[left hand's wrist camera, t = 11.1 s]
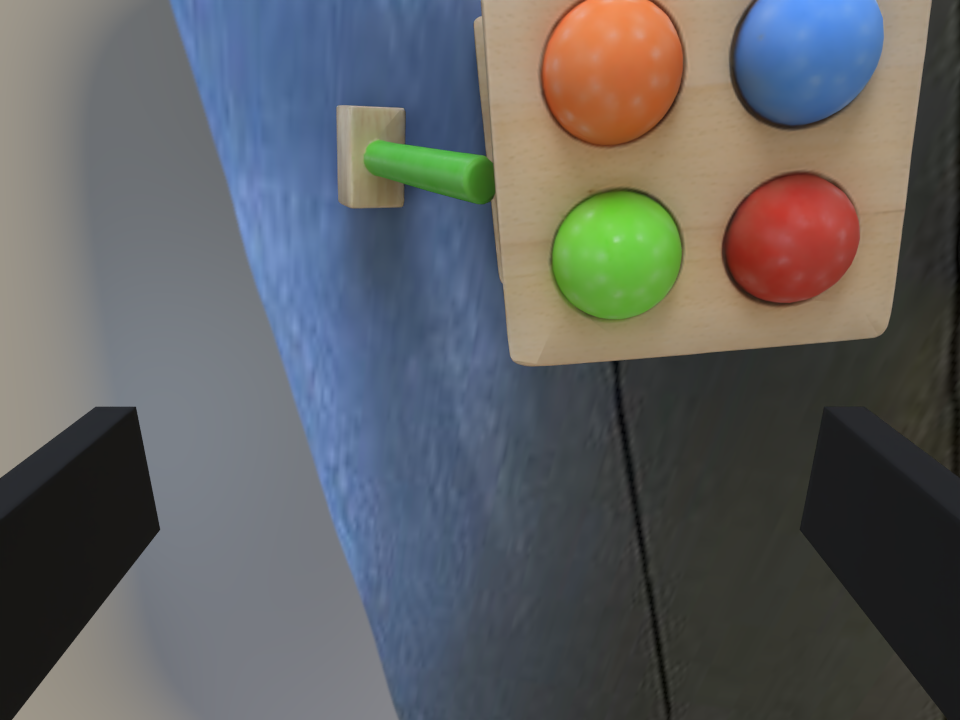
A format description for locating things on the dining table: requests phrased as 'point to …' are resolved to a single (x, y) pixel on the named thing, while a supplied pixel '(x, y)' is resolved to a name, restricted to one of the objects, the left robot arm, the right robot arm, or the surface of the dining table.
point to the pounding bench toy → (676, 170)
